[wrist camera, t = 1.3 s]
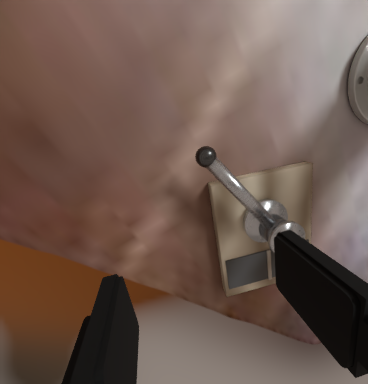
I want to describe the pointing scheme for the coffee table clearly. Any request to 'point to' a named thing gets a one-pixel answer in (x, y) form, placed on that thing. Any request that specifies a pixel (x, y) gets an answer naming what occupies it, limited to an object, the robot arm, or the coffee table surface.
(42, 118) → the coffee table surface
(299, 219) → the stand
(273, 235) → the ball-knob lever handle
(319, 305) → the robot arm
